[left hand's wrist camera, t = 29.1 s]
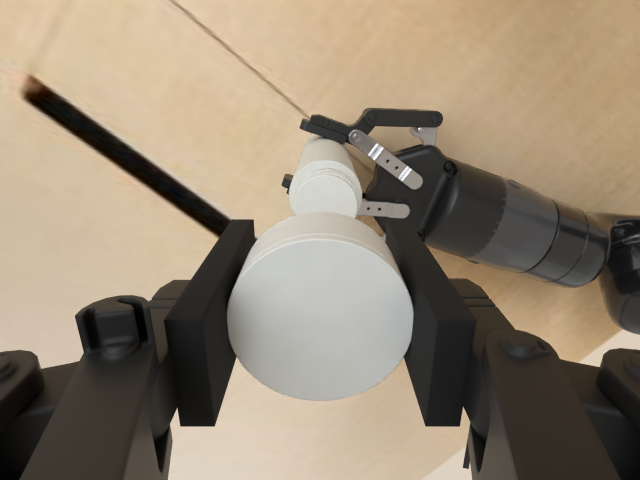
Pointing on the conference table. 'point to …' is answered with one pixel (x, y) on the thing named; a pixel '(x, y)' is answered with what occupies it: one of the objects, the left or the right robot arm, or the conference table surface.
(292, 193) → the bottle
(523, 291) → the conference table surface
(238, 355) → the lid
